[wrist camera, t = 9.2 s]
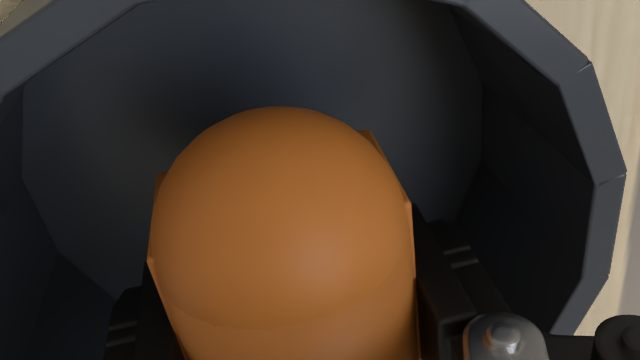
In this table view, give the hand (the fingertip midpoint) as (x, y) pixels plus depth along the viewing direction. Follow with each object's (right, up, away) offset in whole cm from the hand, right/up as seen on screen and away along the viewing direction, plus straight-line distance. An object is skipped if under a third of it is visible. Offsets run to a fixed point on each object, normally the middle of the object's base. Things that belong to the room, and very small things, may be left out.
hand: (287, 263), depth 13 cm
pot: (-1, +3, +4) cm, 5 cm away
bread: (0, 0, 0) cm, 0 cm away
